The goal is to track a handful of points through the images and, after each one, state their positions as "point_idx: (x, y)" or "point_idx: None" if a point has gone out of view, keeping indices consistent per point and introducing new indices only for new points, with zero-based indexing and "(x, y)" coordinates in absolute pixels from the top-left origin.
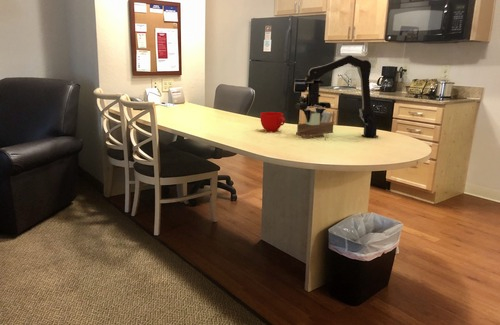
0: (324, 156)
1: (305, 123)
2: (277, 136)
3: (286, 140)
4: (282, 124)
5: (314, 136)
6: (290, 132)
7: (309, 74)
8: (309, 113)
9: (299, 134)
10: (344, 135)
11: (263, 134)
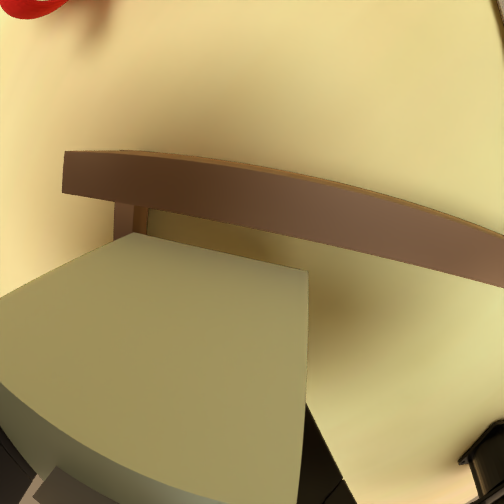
0: None
1: (132, 234)
2: (26, 138)
3: (27, 274)
4: (48, 13)
5: None
6: (180, 16)
7: None
8: (20, 471)
9: (119, 221)
10: (466, 386)
11: (18, 55)
